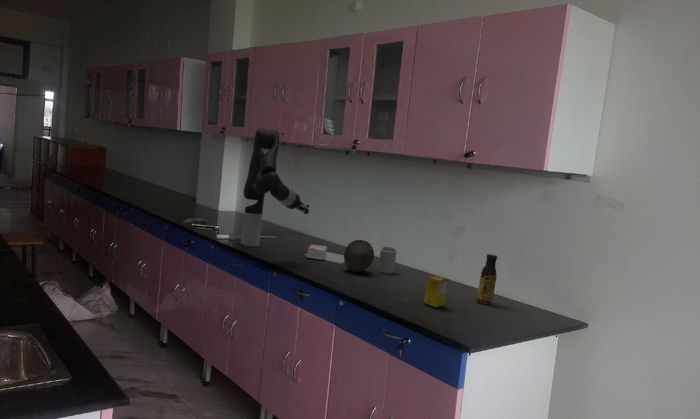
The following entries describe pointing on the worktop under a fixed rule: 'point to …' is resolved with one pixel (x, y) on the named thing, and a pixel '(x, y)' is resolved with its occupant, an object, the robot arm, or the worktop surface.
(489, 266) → the sauce bottle
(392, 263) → the can
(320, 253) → the ink cartridge box
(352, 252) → the cantaloupe
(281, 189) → the robot arm
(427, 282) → the supplement box
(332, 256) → the mat
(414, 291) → the worktop surface
